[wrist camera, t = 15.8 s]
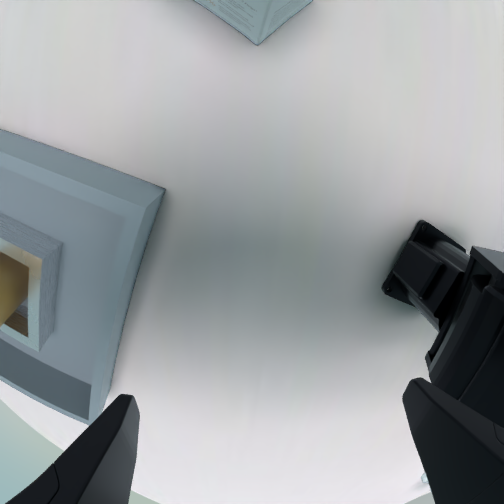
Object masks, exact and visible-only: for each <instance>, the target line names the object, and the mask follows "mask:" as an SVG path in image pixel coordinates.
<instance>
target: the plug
mask: <svg viewBox="0 0 504 504" xmlns="http://www.w3.org/2000/svg"><path fill="white" fill-rule="evenodd" d="M28 282H29V267H28V266H26V265H24V264H23V263H21V262H19V261H17V260H15V259H13V258H11V257H9V256H8V255H6V254H4V253H2V252H0V327H1V326H2V325H3V323H4V322H5V321H6V320H7V319H8V318H9V317H10V316H11V315H12V313H13V312H14V311H15V310H16V309H17V308H18V307H19V306H20V305H21V304H22V303H23V302H24V300H25V299H26V298H27V297H28Z"/></svg>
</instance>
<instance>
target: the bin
mask: <svg viewBox="0 0 504 504" xmlns="http://www.w3.org/2000/svg"><path fill="white" fill-rule="evenodd" d="M165 190H166V189H164V188H162V187H159V186H157V185H154V184H151V183H149V182H146V181H144V180H141V179H138V178H136V177H133V176H130V175H128V174H125V173H122V172H120V171H117V170H114V169H112V168H109V167H106V166H104V165H101V164H98V163H96V162H93V161H90V160H87V159H85V158H82V157H79V156H76V155H74V154H71V153H68V152H65V151H62V150H60V149H57V148H54V147H51V146H48V145H45V144H43V143H40V142H37V141H34V140H31V139H28V138H25V137H22V136H19V135H16V134H13V133H10V132H8V131H5V130H2V129H0V212H1V213H3V214H5V215H7V216H9V217H11V218H13V219H15V220H17V221H19V222H21V223H23V224H25V225H27V226H29V227H32V228H34V229H36V230H38V231H40V232H42V233H44V234H46V235H49V236H51V237H53V238H55V239H57V240H60V241H62V242H63V247H62V254H61V261H60V268H59V276H58V285H57V294H56V306H55V322H54V331H53V333H52V334H51V336H50V337H49V338H48V340H47V341H46V343H45V344H44V346H43V347H42V349H41V350H40V352H38V351H36V350H34V349H32V348H30V347H28V346H27V345H25V344H23V343H21V342H19V341H18V340H16V339H14V338H13V337H11V336H9V335H7V334H6V333H4V332H2V331H1V330H0V380H1V381H3V382H5V383H6V384H8V385H10V386H11V387H13V388H15V389H16V390H18V391H20V392H21V393H23V394H25V395H27V396H29V397H30V398H32V399H34V400H36V401H38V402H40V403H42V404H44V405H46V406H48V407H50V408H52V409H54V410H56V411H58V412H60V413H62V414H64V415H67V416H69V417H71V418H73V419H76V420H78V421H80V422H83V423H85V424H87V425H91V424H92V423H93V422H94V421H95V420H96V419H97V418H98V416H99V415H100V414H101V413H102V411H103V408H104V405H105V402H106V399H107V396H108V393H109V390H110V386H111V381H112V376H113V371H114V366H115V361H116V356H117V352H118V347H119V343H120V338H121V334H122V330H123V326H124V322H125V318H126V314H127V310H128V306H129V302H130V299H131V295H132V291H133V288H134V284H135V281H136V277H137V274H138V270H139V267H140V264H141V260H142V257H143V254H144V251H145V248H146V244H147V241H148V238H149V235H150V232H151V229H152V226H153V223H154V220H155V217H156V215H157V212H158V209H159V206H160V203H161V201H162V198H163V195H164V192H165ZM21 305H23V306H25V307H27V308H28V297H27V298H26V299H25V300H24V302H23V303H22V304H21Z"/></svg>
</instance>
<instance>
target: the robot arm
mask: <svg viewBox="0 0 504 504" xmlns="http://www.w3.org/2000/svg"><path fill="white" fill-rule="evenodd" d="M423 226H424V228H423V229H422V227H423ZM388 287H390V288H389V289H388ZM387 289H388V290H387ZM382 291H383V292H384V293H385V294H386V295H388V296H390V297H393V298H395V299H397V300H400V301H402V302H405V303H407V304H409V305H412V306H414V307H416V308H417V309H418V310H419V311H420V312H421V313H422V314H423V315H424V316H425V317H426V319H427V320H428V321H429V322H430V323H431V324H432V325H433V326H434V327H435V329H436V330H437V331H438V332H439V333H438V335H437V337H436V339H435V341H434V343H433V345H432V347H431V349H430V351H428V352H427V354H426V356H425V360H426V363H427V367H428V370H429V377H430V380H431V383H432V384H431V383H430V382H428V381H426V380H425V379H423V378H415V379H412V380H411V381H410V382H409V384H408V386H407V388H406V390H405V392H404V394H403V398H402V399H403V404H404V408H405V411H406V415H407V419H408V423H409V427H410V430H411V434H412V437H413V440H414V443H415V445H416V448H417V451H418V454H419V456H420V459H421V462H422V465H423V468H424V470H425V473H426V476H427V479H428V482H429V485H430V488H431V491H432V494H433V498H434V501H435V504H504V252H499V251H495V250H490V249H486V248H481V247H477V246H472V248H471V251H470V256H469V255H467V254H466V250H465V249H464V248H463V247H462V246H460V245H459V244H457V243H456V242H455V241H453V240H452V239H451V238H449V237H448V236H446V235H445V234H444V233H442V232H441V231H439V230H438V229H436V228H435V227H434V226H432V225H431V224H429V223H428V222H426V221H424V220H422V221H420V222H419V223H418V224H417V226H416V228H415V230H414V232H413V234H412V236H411V238H410V240H409V241H408V243H407V245H406V247H405V249H404V251H403V252H402V254H401V256H400V258H399V259H398V261H397V263H396V265H395V266H394V268H393V270H392V271H391V273H390V275H389V276H388V278H387V280H386V281H385V283H384V285H383V287H382ZM139 420H140V413H139V409H138V406H137V403H136V401H135V398H134V396H133V395H128V394H120V395H119V396H118V397H117V398H116V399H115V400H114V401H113V402H112V403H111V404H110V405H109V406H108V407H107V408H106V409H105V410H104V411H103V412H102V413H101V414H100V415H99V416H98V418H97V419H96V420H95V421H94V422H93V423H92V424H91V425H90V426H89V427H88V428H87V429H86V430H85V431H84V432H83V433H82V434H81V435H80V436H79V437H78V438H77V439H76V440H75V441H74V442H73V443H72V444H71V445H70V446H69V447H68V448H67V449H66V450H65V451H64V452H63V453H62V454H61V456H59V457H58V458H57V460H56V461H55V462H54V463H53V464H51V466H50V467H49V468H48V469H47V470H46V471H45V472H43V474H41V475H40V476H39V477H38V478H37V479H36V480H35V481H34V482H32V483H31V484H30V485H29V486H28V487H26V488H25V489H24V490H23V491H21V492H20V493H19V494H17V495H16V496H15V497H13V498H12V499H11V500H10V501H8V502H7V503H5V504H128V502H129V496H130V490H131V484H132V479H133V474H134V468H135V463H136V456H137V443H138V431H139Z"/></svg>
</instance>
